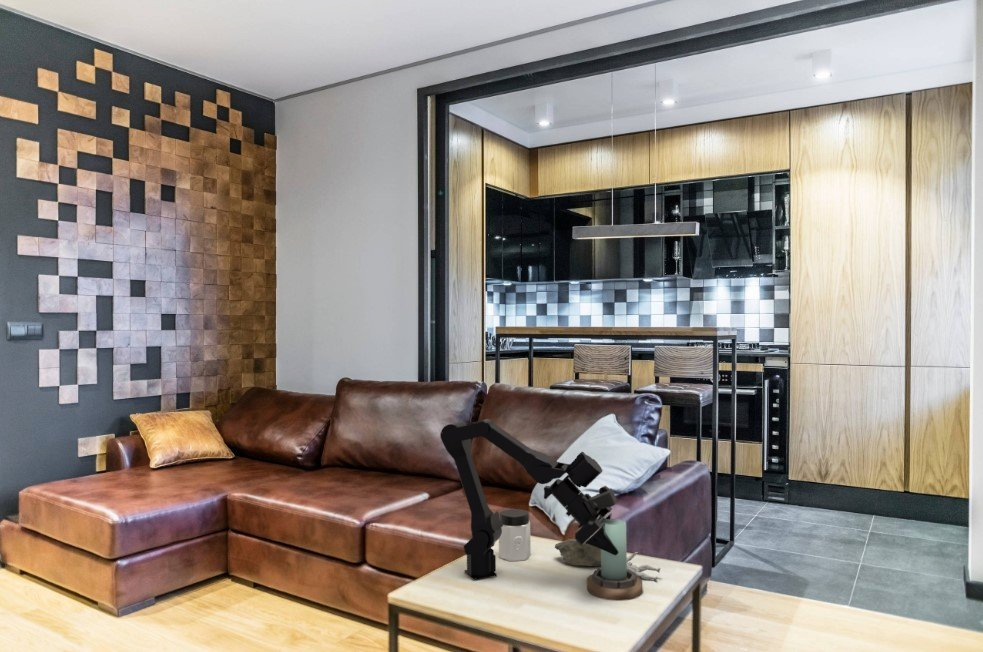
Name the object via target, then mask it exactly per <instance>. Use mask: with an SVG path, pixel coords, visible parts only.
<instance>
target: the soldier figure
mask: <svg viewBox="0 0 983 652" xmlns="http://www.w3.org/2000/svg"><path fill="white" fill-rule="evenodd" d="M637 554H639V552H638V551H635V552H633V553H632V554H631V555H629V556H628V557H627V569H628V570H630V571H632V572H634V573H636V575H637V577H638V578H640V579H643V580H654V581H656V580H658V576H651V575H649V574H647V573H645V571H652V572H653V571H654V572H657V573H660V571H661V568H660V567H658V568H656V567H654V566H652V565H649V564H643V565H639V566H637V565H635V564H633V562H631V561H632V560H633V559H634V557H635V556H637ZM656 582H657V581H656Z"/></svg>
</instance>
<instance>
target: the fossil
mask: <svg viewBox="0 0 983 652" xmlns="http://www.w3.org/2000/svg"><path fill="white" fill-rule="evenodd" d="M585 542H586V541H585ZM585 542H584V543H583V544H582V545H580V544H579V543H578V542H577V540H576V539H575V538H570V539H566V540H562V541H560V542H558V543H556V544H555V545H554V549H556V550H558V551H559V553H560V554H559V555H560V556H562V559H563V562H566V563H568V564H569V565H570V566H573V567H574V566H587V567H591V566H592V567H598V566H601V549H600V548H597V547H595V546H592V545H590V544H586V543H585Z"/></svg>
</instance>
